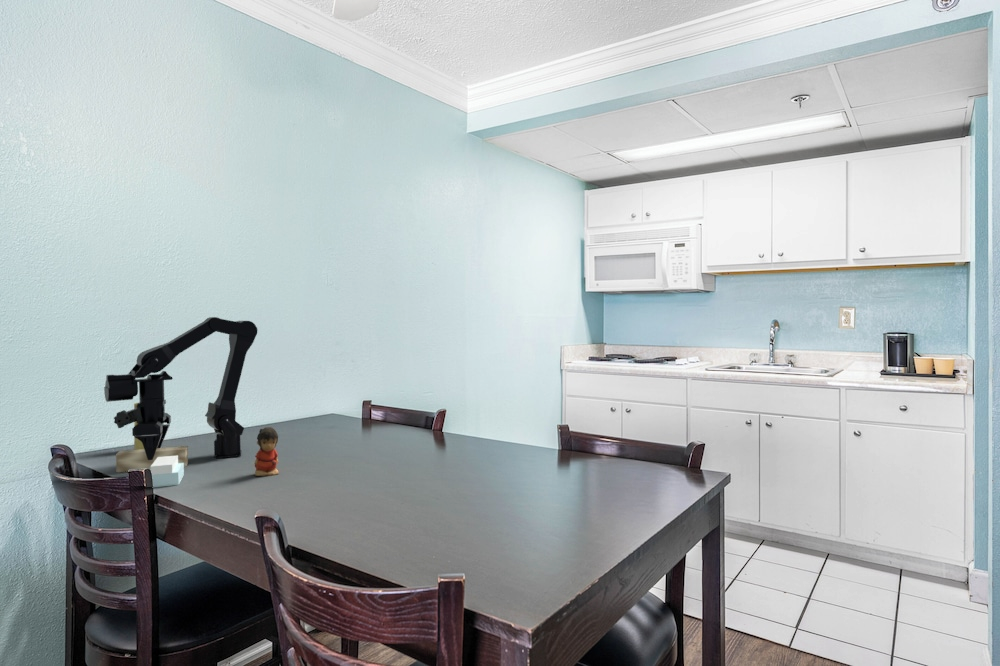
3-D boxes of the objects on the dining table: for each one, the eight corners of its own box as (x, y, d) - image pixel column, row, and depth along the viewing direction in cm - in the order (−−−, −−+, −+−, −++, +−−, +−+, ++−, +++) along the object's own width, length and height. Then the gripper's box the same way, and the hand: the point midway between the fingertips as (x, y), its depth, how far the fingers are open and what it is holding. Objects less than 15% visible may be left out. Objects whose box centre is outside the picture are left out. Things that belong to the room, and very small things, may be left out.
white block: (184, 474, 150) (183, 454, 150) (178, 484, 141) (178, 464, 141) (152, 477, 147) (152, 457, 147) (144, 488, 138) (144, 466, 138)
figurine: (248, 475, 149) (247, 428, 148) (266, 470, 154) (265, 424, 153) (265, 478, 146) (265, 430, 145) (283, 472, 151) (282, 426, 150)
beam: (188, 464, 162) (187, 446, 162) (185, 467, 158) (185, 449, 158) (120, 469, 156) (120, 450, 156) (116, 473, 152) (116, 454, 152)
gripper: (124, 395, 162) (126, 451, 163) (107, 404, 145) (109, 467, 145) (170, 392, 166) (171, 447, 167) (159, 401, 149) (160, 462, 150)
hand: (153, 456), depth 157 cm, fingers open, 9 cm apart
